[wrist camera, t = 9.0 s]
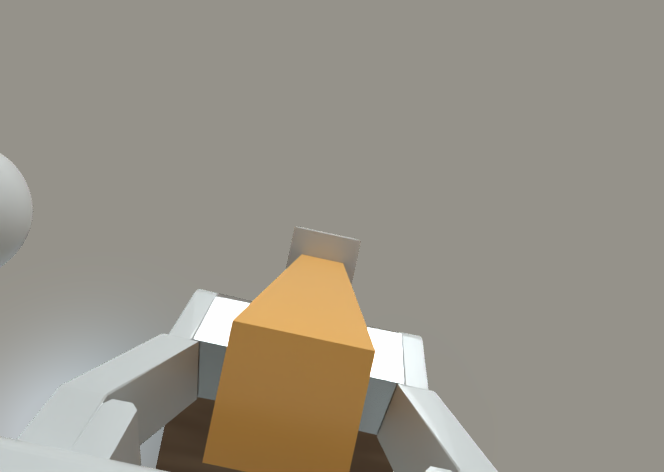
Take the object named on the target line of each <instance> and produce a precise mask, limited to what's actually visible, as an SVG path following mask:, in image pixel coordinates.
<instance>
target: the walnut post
mask: <svg viewBox="0 0 664 472" xmlns="http://www.w3.org/2000/svg"><path fill="white" fill-rule="evenodd" d="M214 405H215V400H211V399H206V398H200V397H197V399H196V400H195V401H194V402H193V403H192V404H190V405H189V406H188V407H187V408H185V409H184V410H183V411H182V412H180V413H179V414H178V415H177V416H176V417H174V418H173V419H172V420H171V421H169V422H168V423H167V424H166V425H165V427H164V433H163V437H162V441H161V446H160V451H159V456H158V460H157V465H156V469H158V470H163V471H168V472H245V471H240V470H235V469H230V468H226V467H221V466H216V465H211V464H207V463H202V461H203V457H204V452H205V447H206V442H207V438H208V433H209V428H210V424H211V419H212V414H213V409H214ZM349 472H393V469H392V467H391V465H390V463H389V461H388V459H387V457H386V455H385V453H384V451H383V448H382V446H381V444H380V442H379V440H378V438H377V435H375V434H371V433H366V432H362V431H358V434H357V439H356V443H355V448H354V453H353V457H352V462H351V466H350V471H349Z"/></svg>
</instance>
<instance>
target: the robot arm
mask: <svg viewBox="0 0 664 472" xmlns="http://www.w3.org/2000/svg"><path fill="white" fill-rule="evenodd" d="M32 206H33V205H32V199H31V194H30V191H29V188H28V186H27V184H26V181H25V180H24V178H23V176H22V174H21V173H20V171H19V170H18V169H17V167H16V166H15V165H14V164H13V163H12V162H11V161H10V160H9V159H8V158H6V157H5V156H3V155H2V154H1V153H0V267H1V266H3V265H4V264H5V263H7V262H8V261H9V260H10V259H11V258H12V257H13V256H14V255H15V254H16V253H17V251H18V250H19V249H20V248H21V246H22V245H23V243H24V241H25V239H26V238H27V235H28V233H29V230H30V227H31V223H32V217H33V207H32ZM251 302H252V301H249V300H245V299H241V298H237V297H232V296H228V295H224V294H218V293H213V292H210V291H205V290H202V289H198V290H197V291H195V292H194V294H193V296H192V297H191V299H190V300H189V302H188V304H187V305H186V307H185V309H184V310H183V312H182V313H181V315H180V316H179V318H178V320H177V322H176V323H175V325H174V326H173V328H172V330H171V331H170V333H169V334H168V335H167V334H160V335H158V336H156V337H154V338H152V339H150V340H148V341H147V342H144V343H143V344H141V345H139V346H137V347H135V348H133V349H131V350H129V351H127V352H125V353H123V354H121V355H119V356H117V357H115V358H114V359H111V360H109V361H107V362H105V363H103V364H101V365H99V366H98V367H96V368H94V369H92V370H90V371H88V372H86V373H84V374H82V375H80V376H78V377H76V378H74V379H72V380H70V381H68V382H66V383H64V384H62V385H60V386H59V388H58V389H57V390H56V391H55V393H54V394H53V395H52V396H51V398H50V399H49V400H48V401H47V402H46V404H45V405H44V406H43V407H42V409H41V410H40V411H39V412H38V414H37V415H36V416H35V417H34V418H33V420H32V421H31V422H30V423H29V425H28V426H27V427H26V428H25V430H24V431H23V432H22V433H21V435H20V436H19V437H18V438H17V439H16V440H15V439H11V438H6V437H1V436H0V472H168V471H163V470H158V469H154V468H149V467H144V466H141V457H140V445H141V444H142V443H144V442H145V441H146V440H147V439H148V438H150V437H151V436H152V435H153V434H155V433H156V432H157V431H158V430H159V429H161V428H162V427H163V426H165V425H166V424H167V423H168V422H169V421H171V420H172V419H173V418H174V417H176V416H177V415H178V414H179V413H180V412H182V411H183V410H184V409H185V408H187V407H188V406H189V405H190V404H192V403H193V402H194V401H195V400H196V399H197V397H200V398H206V399H211V400H216V395H217V391H218V386H219V381H220V376H221V372H222V367H223V362H224V358H225V353H226V348H227V343H228V339H229V334H230V329H231V325H232V320H233V319H235V318H236V317H237V316H238V315H239V314H240V313H241V312H242V311H243V310H244V309H245V308H246V307H247V306H248V305H249V304H250V303H251ZM367 329H368V332H369V334H370V337H371V340H372V343H373V345H374V348H375V351H376V352H375V357H374V361H373V366H372V370H371V375H370V379H369V384H368V389H367V393H366V398H365V402H364V407H363V411H362V416H361V421H360V425H359V430H358V431H362V432H366V433H371V434H375V435H377V438H378V440H379V442H380V444H381V446H382V448H383V451H384V453H385V455H386V457H387V459H388V461H389V463H390V465H391V467H392V469H393V471H394V472H498V471H497V470H496V469H495V468H494V466H493V465H492V464H491V462H490V461H489V460H488V459H487V457H486V456H485V455H484V454H483V452H482V451H481V450H480V449H479V447H478V446H477V445H476V444H475V442H474V441H473V440H472V438H471V437H470V436H469V435H468V433H467V432H466V431H465V429H464V428H463V427H462V426H461V424H460V423H459V422H458V421H457V419H456V418H455V417H454V416H453V414H452V413H451V412H450V410H449V409H448V408H447V407H446V406H445V404H444V403H443V401H442V400H441V399H440V398H439V396H438V395H437V394H436V393H435V391H430V390H428V381H427V373H426V365H425V357H424V348H423V340H422V338H421V336H417V335H411V334H406V333H399V332H394V331H390V330H385V329H380V328H375V327H371V326H367Z"/></svg>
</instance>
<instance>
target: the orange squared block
mask: <svg viewBox="0 0 664 472" xmlns="http://www.w3.org/2000/svg"><path fill="white" fill-rule="evenodd" d="M360 243H361V241H360V240H357V239H353V238H348V237H344V236H339V235H335V234H330V233H325V232H321V231H316V230H312V229H307V228H302V227H295V228H294V233H293V238H292V243H291V248H290V252H289V256H288V261H287V266H286V270H285V271H284V272H283V273H282V274H281V275H280V276H279V277H278V278H276V280H274V281H273V282H272V283H271V284H270V285H269V286H268V287H267V288H266V289H265V290H264V291H263V292H262V293H261V294H260V295H259V296H258V297H257V298H256V299H255V300H253V301H252V302H251V303H250V304H249V305H248V306H247V307H246V308H245V309H244V310H243V311H242V312H241V313H240V314H239V315H238V316H237V317H236V318H235V319H233V320H232V325H231V329H230V334H229V339H228V343H227V348H226V353H225V358H224V362H223V367H222V372H221V376H220V381H219V386H218V391H217V395H216V400H215V405H214V409H213V414H212V419H211V424H210V428H209V433H208V438H207V442H206V447H205V452H204V457H203V461H202V463H207V464H211V465H216V466H221V467H226V468H230V469H235V470H240V471H245V472H349V471H350V466H351V462H352V457H353V453H354V448H355V443H356V439H357V434H358V430H359V425H360V421H361V416H362V411H363V407H364V402H365V398H366V393H367V389H368V384H369V379H370V375H371V370H372V366H373V361H374V357H375V352H376V351H375V348H374V345H373V343H372V340H371V337H370V334H369V332H368V329H367V326H366V324H365V321H364V318H363V316H362V313H361V310H360V307H359V305H358V302H357V299H356V297H355V294H354V291H353V289H352V286H351V284H352V280H353V275H354V270H355V266H356V261H357V256H358V252H359V247H360Z"/></svg>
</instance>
